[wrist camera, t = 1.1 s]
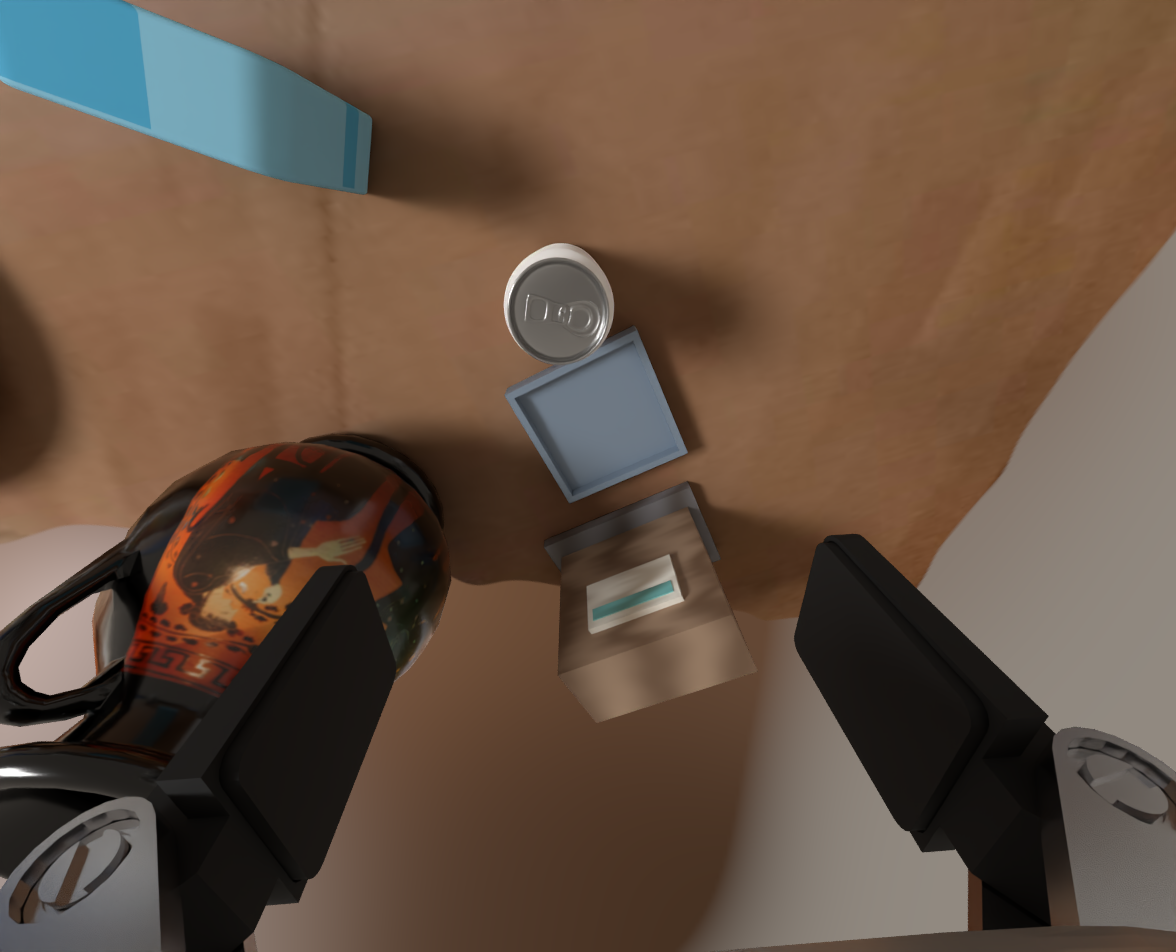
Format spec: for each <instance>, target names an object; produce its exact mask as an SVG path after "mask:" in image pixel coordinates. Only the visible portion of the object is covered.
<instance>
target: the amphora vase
mask: <svg viewBox="0 0 1176 952" xmlns="http://www.w3.org/2000/svg"><path fill="white" fill-rule="evenodd" d="M443 527H444V518H443V507H442V504H441V502H440V499H439V497H438V494H437V492H436V489H435V487H434V486H433V485H432V483H431V482H430V481H429V479H428V478H427V477H426V475H425V474H424V473H423V471H422V470H421V469H420V468H418V467H417V466H416V465H415V464H414V463H412V462H411V461H410V460H409V459H408V458H407V457H405V456H404V455H403V454H401V453H399V452H397V451H395V450H393V449H392V448H390V447H388V446H386V445H384V444H382V443H380V442H376V441H373V440H370V439H366V438H363V437H360V436H356V435H341V434H328V435H322V436H316V437H311V438H307V439H305V440H303V441H301V442H299V443H296V442H282V443H275V444H269V445H263V446H257V447H252V448H246V449H241V450H235V451H231V452H229V453H227V454H225V455H223V456H221V457H219V458H217V459H215V460H213V461H211V462H209V463H208V464H206V465H204V466H202V467H200V468H198V469H196V470H195V471H193V472H191V473H189V474H187V475H186V476H184V477H182V478H180V479H179V480H177V481H175V482H174V483H173V484H172V485H171V486H169V487H168V488H167V489H166V490H165V491H164V492H163V493H162V494H161V495H160V496H159V497H158V498H157V499H156V500H155V501H154V502H153V503H152V504H151V505H150V506H149V507H148V508H147V509H146V510H145V512H144V513H143V514H142V515H141V516H140V517H139V519H138V520H137V521H136V522H135V523H134V524H133V526H132V527H131V528H130V529H129V530H128V532H127V535H126V537H125V539H124V540H123V541H122V542H120V543H119V544H117V545H116V546H114V547H113V548H111V549H110V550H108V551H107V552H105V553H104V554H103V555H101V556H100V557H99V558H97V559H96V560H94V561H93V562H91V563H90V564H89V565H87V566H86V567H84V568H83V569H82V570H80V571H79V572H77V573H76V574H75V575H73V576H72V577H70V578H69V579H68V580H66V581H65V582H64V583H62V584H61V585H59V586H58V587H56V588H55V589H54V590H52V591H51V592H50V593H48V594H47V595H45V596H44V597H42V598H41V599H40V600H38V601H37V602H35V603H34V604H33V605H31V606H30V607H29V608H27V609H26V610H25V611H24V612H23V613H22V614H20V615H19V616H18V617H17V618H15V619H14V620H13V621H12V622H11V623H10V624H8V625H7V626H6V627H5V628H4V629H3V630H1V631H0V724H4V725H12V726H18V727H21V726H29V725H36V724H43V723H50V722H56V721H63V720H68V719H71V718H74V717H77V716H81V715H84V714H85V715H84V718H83V719H82V720H80V721H79V722H78V723H76V724H75V725H74V726H73V727H71V728H70V729H69V730H68V731H66V732H65V733H64V734H62V735H61V736H60V737H59V738H57V739H56V740H54V741H47V742H46V741H41V742H32V743H25V744H18V745H11V746H4V747H0V877H2V878H5V879H8V878H9V876H10V875H11V874H12V872H13V871H14V870H15V869H16V868H17V867H18V866H19V865H20V864H21V862H22V861H23V860H24V859H25V858H26V857H27V856H28V855H29V854H30V853H31V852H32V851H33V850H34V849H35V848H36V847H37V846H38V845H40V844H41V843H42V842H43V841H44V840H46V839H47V838H48V837H49V836H50V835H52V834H53V833H54V832H55V831H57V830H58V829H59V828H61V827H62V826H64V825H65V824H67V823H68V822H70V821H71V820H73V819H74V818H76V817H78V816H79V815H81V814H82V813H84V812H86V811H88V810H90V809H92V808H95V807H97V806H99V805H101V804H103V803H105V802H108V801H112V800H116V799H119V798H123V797H142V798H144V799H147V798H148V796H149V795H150V794H151V792H152V791H153V790H154V788H155V787H156V786H157V783H156V782H155V781H156V779H157V778H158V777H159V775H160V774H161V773H162V771H163V770H164V769H165V768H166V766H167V765H168V764H169V762H170V761H171V760H172V758H173V757H174V756H175V754H176V753H177V752H178V751H179V749H180V748H181V747H182V745H183V744H184V743H185V741H186V740H187V739H188V737H189V736H190V735H191V734H192V732H193V731H194V730H195V728H196V727H197V726H198V724H199V723H200V722H201V721H202V719H203V718H204V717H205V715H206V714H207V713H208V711H209V710H210V709H211V707H212V706H213V705H214V704H215V702H216V701H217V700H218V698H219V697H220V696H221V694H222V693H223V692H224V690H225V689H226V688H227V687H228V685H229V684H230V683H231V681H232V680H233V679H234V677H235V676H236V675H237V673H238V672H239V671H240V670H241V668H242V667H243V666H244V664H245V663H246V662H247V660H248V659H249V658H250V656H251V655H252V654H253V653H254V651H255V650H256V649H257V647H258V646H259V645H260V643H261V642H262V641H263V639H264V638H265V637H266V636H267V634H268V633H269V632H270V630H271V629H272V628H273V626H274V625H275V624H276V623H277V621H278V620H279V619H280V617H281V616H282V615H283V613H284V612H285V611H286V609H287V608H288V607H289V606H290V604H291V603H292V602H293V600H294V599H295V598H296V596H297V595H298V594H299V592H300V591H301V590H302V589H303V587H304V586H305V585H306V583H307V582H308V581H309V579H310V578H311V577H312V575H313V574H314V573H315V572H316V570H318V569H319V568H320V567H322V566H335V565H354V566H355V567H356V569H357V571H362V572H364V573H365V575H366V577H367V580H368V583H369V586H370V589H371V591H372V594H373V597H374V600H375V603H376V606H377V609H378V612H379V615H380V617H381V620H382V623H383V626H384V629H385V632H386V635H387V638H388V641H389V643H390V646H391V649H392V652H393V655H394V658H395V661H396V676H395V680H394V682H395V681H396V680H397V679H398V678H399V677H400V676H401V675H403V674H404V673H405V672H406V671H407V670H408V669H409V668H410V667H411V666H412V665H413V663H414V662H415V661H416V660H417V658H418V657H419V656H420V654H421V653H422V652H423V650H424V649H425V647H426V646H427V644H428V642H429V640H430V639H431V637H432V635H433V634H434V631H435V630H436V628H437V627H438V625H439V622H440V618H441V615H442V611H443V608H444V604H445V601H446V597H447V594H448V590H449V586H450V582H451V571H450V559H449V551H448V544H447V541H446V538H445V536H444V534H443ZM98 592H100V594H99V597H98V599H97V601H96V605H95V609H94V614H93V620H92V626H93V641H94V653H95V666H96V676H95V677H94V678H93V679H91V680H90V681H89V682H88V683H86V684H85V685H84V686H83V687H81V688H79V689H75V690H71V691H67V692H63V693H58V694H54V695H46V694H43V693H39V692H35V691H34V690H33V689H31V688H30V687H28V686H27V685H25V684H24V683H22V682H21V678H20V673H19V668H18V667H19V665H20V663H21V661H22V659H23V657H24V656H25V654H26V651H27V650H28V648H29V646H30V645H31V644H32V643H33V642H34V641H35V640H36V639H37V638H38V637H39V636H40V635H41V634H42V633H43V632H44V631H45V630H46V629H47V628H48V626H49V625H50V624H51V623H52V622H53V621H54V620H55V619H56V618H57V617H58V616H60V615H61V614H63V613H64V612H65V611H67V610H69V609H70V608H72V607H73V606H75V605H76V604H78V603H80V602H81V601H83V600H84V599H86V598H87V597H89V596H90V595H92V594H94V593H98Z"/></svg>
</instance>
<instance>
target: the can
mask: <svg viewBox="0 0 1176 952" xmlns="http://www.w3.org/2000/svg"><path fill="white" fill-rule="evenodd" d="M504 313H505V319H506V323H507V326H508V328H509V331H510V333H511V335H512V336H513V338H514V339H515V341H516V342H517V344H518V345H519V346H520V347H521V348H522V349H523V350H524V351H525V352H527V353H528V354H529V355H531V356H532V357H534V358H535V359H537V360H539V361H542V362H544V363H548V364H553V365H566V364H572V363H575V362H578V361H581V360H583V359H585V358H587V357H588V356H590V355H591V354H593V353H594V352H595V351H596V350H597V349H598V348H599V347H600V346H601V345H602V343H603V342H604V340H605V339H606V337H607V335H608V333H609V331H610V328H611V325H612V321H613V316H614V299H613V294H612V290H611V287H610V284H609V282H608V279H607V277H606V276H605V274H604V272H603V271H602V269H601V268H600V266H599V265H598V264H597V263H596V261H595V260H594V259H593V258H592V257H591V256H590V255H589V254H588V253H587V252H586V251H584V250H583V249H581V248H579V247H577V246H574V245H571V244H566V243H556V244H551V245H548V246H545V247H543V248H541V249H539V250H537V251H536V252H534V253H532V254H531V255H529V256H528V257H527V258H525V259H524V260H523V261H522V262H521V263H520V264H519V265H518V266H517V268H516V269H515V270H514V272H513V273H512V275H511V277H510V279H509V281H508V284H507V287H506V291H505V296H504Z"/></svg>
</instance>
